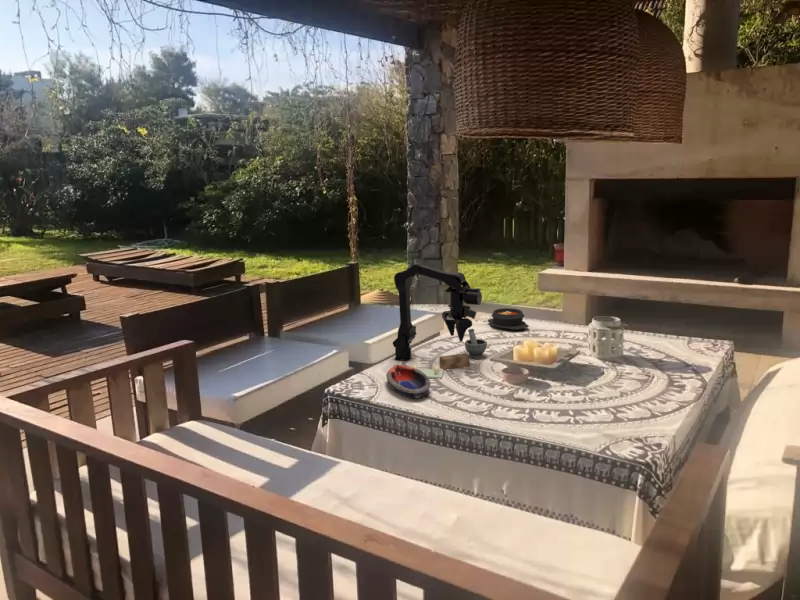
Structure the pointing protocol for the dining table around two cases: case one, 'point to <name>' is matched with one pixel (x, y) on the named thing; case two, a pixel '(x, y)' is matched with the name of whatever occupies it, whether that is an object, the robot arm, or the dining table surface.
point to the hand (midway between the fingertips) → (456, 338)
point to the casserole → (508, 319)
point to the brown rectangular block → (454, 361)
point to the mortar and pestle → (475, 346)
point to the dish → (408, 381)
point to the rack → (431, 371)
